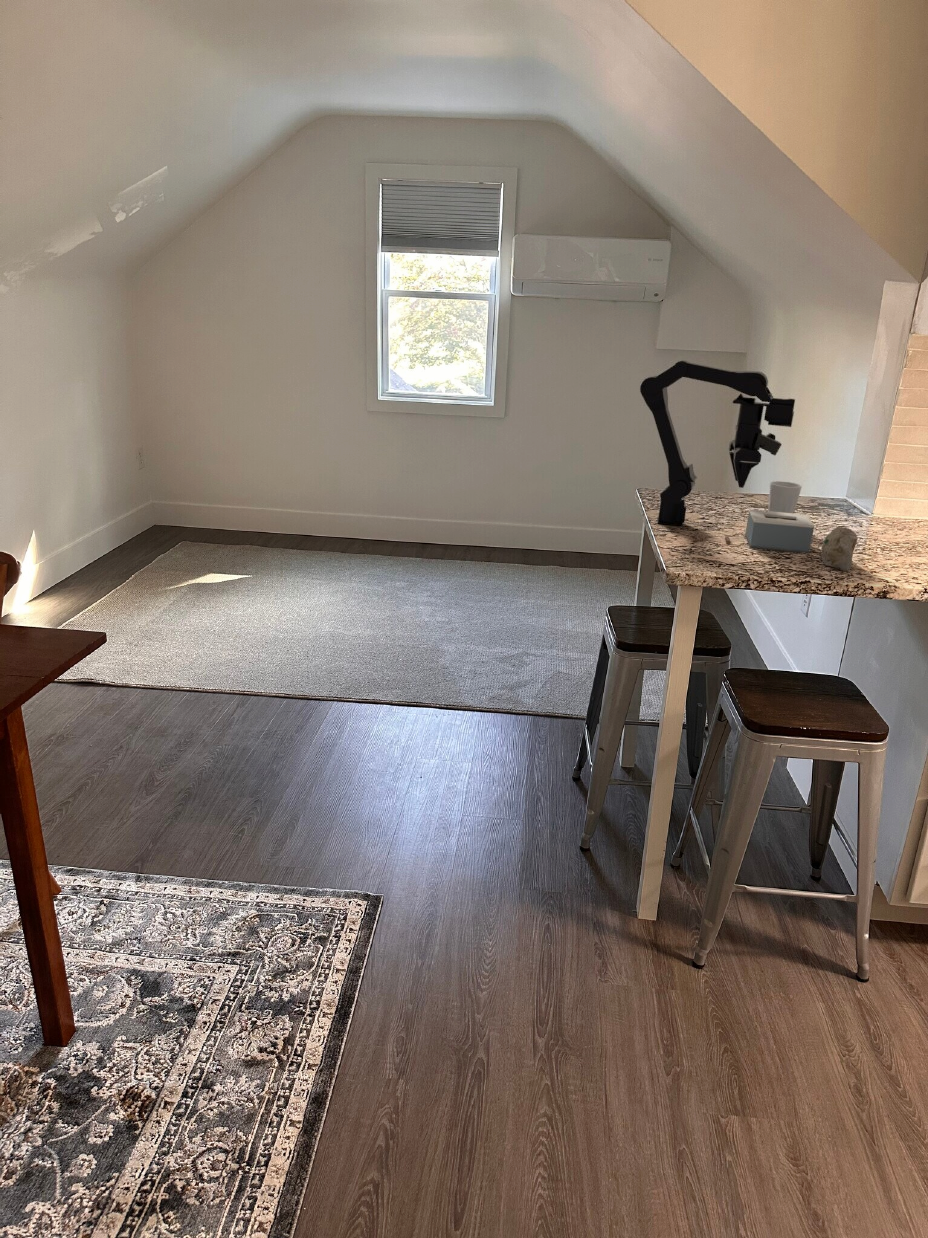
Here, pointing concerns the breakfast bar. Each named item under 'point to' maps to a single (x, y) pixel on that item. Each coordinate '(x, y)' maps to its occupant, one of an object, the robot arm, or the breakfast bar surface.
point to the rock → (839, 548)
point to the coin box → (779, 531)
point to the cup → (783, 496)
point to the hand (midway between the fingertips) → (739, 484)
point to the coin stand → (725, 538)
